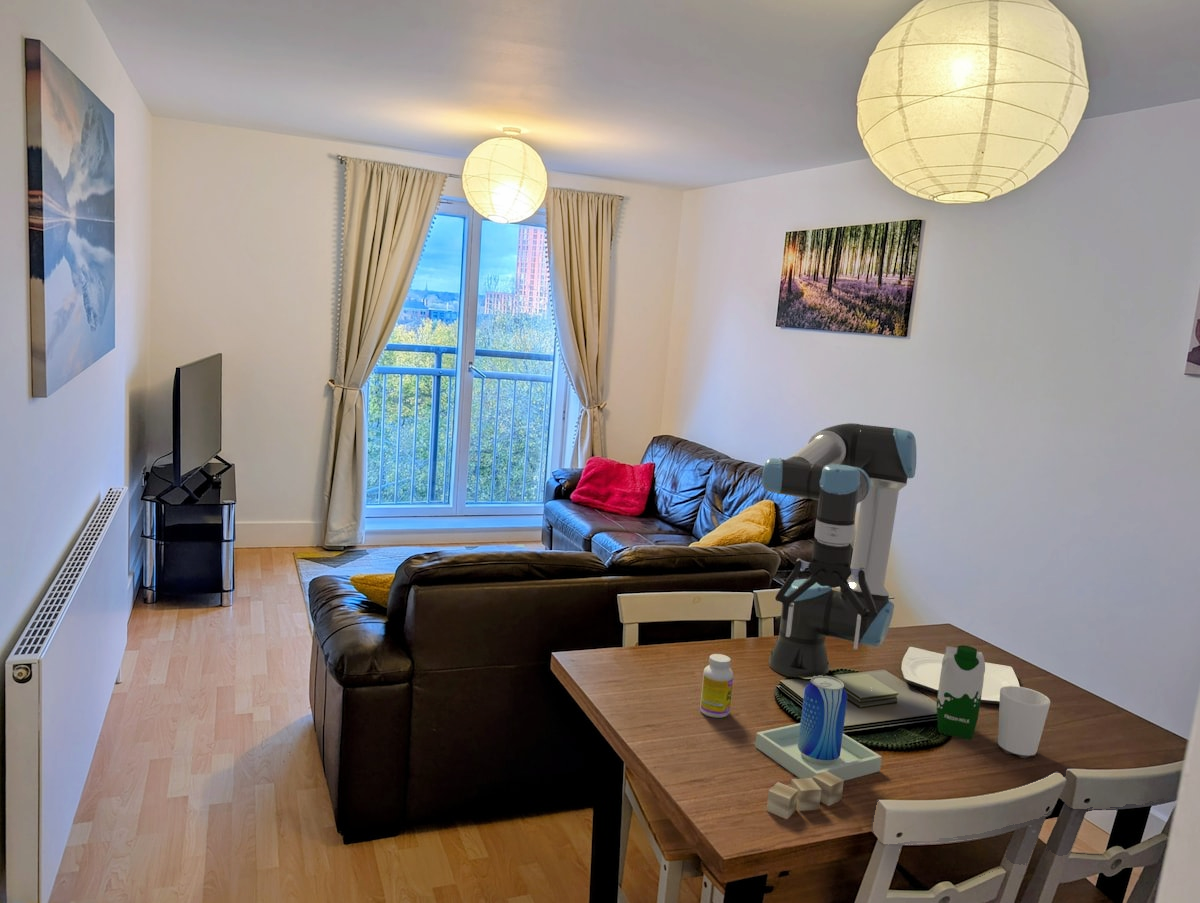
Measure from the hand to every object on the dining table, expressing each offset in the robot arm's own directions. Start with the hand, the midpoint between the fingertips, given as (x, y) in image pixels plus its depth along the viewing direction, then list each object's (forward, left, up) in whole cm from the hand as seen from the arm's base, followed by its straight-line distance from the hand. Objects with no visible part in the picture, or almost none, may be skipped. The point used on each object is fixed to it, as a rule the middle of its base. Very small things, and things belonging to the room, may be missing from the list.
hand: (821, 640), depth 179 cm
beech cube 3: (+23, +17, -23) cm, 37 cm away
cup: (-42, +19, -23) cm, 52 cm away
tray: (+3, +5, -23) cm, 24 cm away
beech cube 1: (+12, +17, -23) cm, 31 cm away
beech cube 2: (+17, +17, -23) cm, 34 cm away
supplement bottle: (+10, -20, -23) cm, 32 cm away
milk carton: (-37, +7, -23) cm, 44 cm away
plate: (-63, -12, -24) cm, 69 cm away
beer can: (+3, +5, -23) cm, 23 cm away
